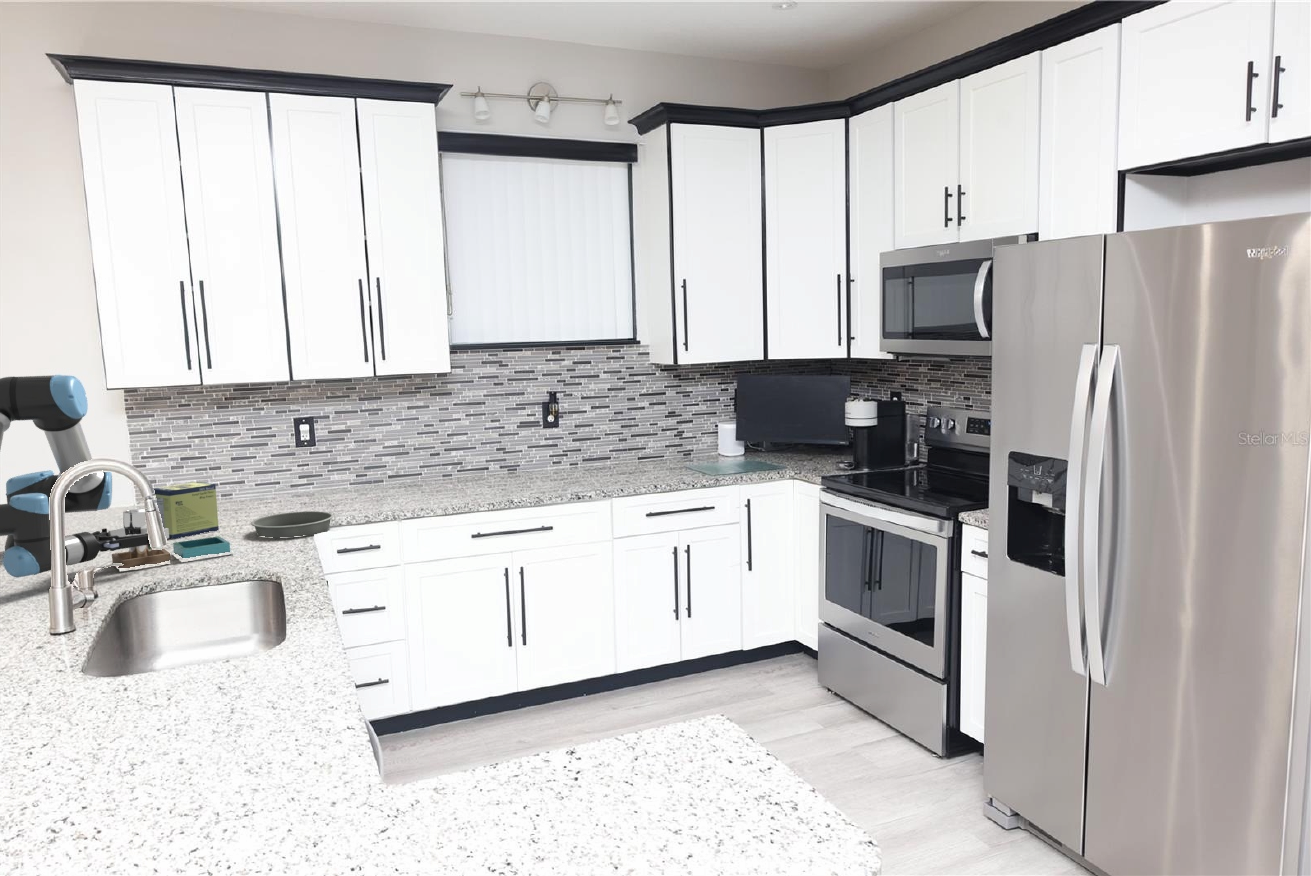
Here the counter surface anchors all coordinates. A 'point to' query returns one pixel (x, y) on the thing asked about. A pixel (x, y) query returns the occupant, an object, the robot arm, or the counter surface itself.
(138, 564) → the brown square tray
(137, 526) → the beer glass
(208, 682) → the counter surface
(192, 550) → the teal shallow tray
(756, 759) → the counter surface
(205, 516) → the protein box
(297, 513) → the cake pan
